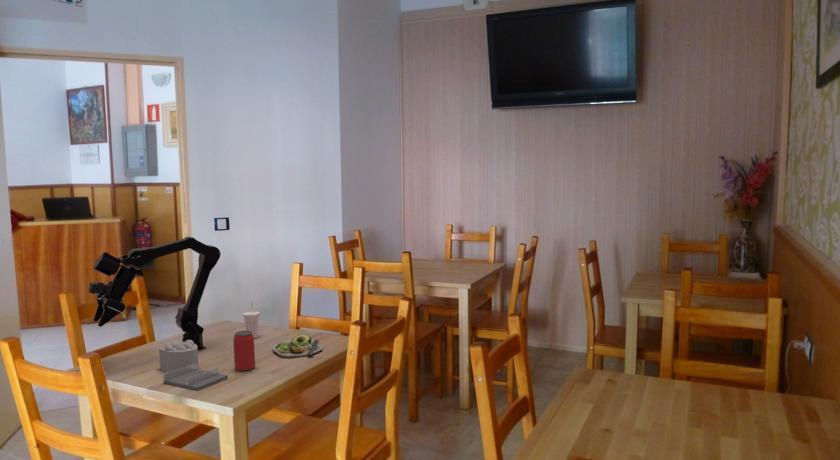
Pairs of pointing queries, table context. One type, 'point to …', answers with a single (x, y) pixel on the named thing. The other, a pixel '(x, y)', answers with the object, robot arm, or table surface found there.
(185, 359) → the paw print puck
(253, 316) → the smoothie
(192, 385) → the rail board
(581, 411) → the table surface
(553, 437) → the table surface
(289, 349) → the salad plate
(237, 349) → the beer can
